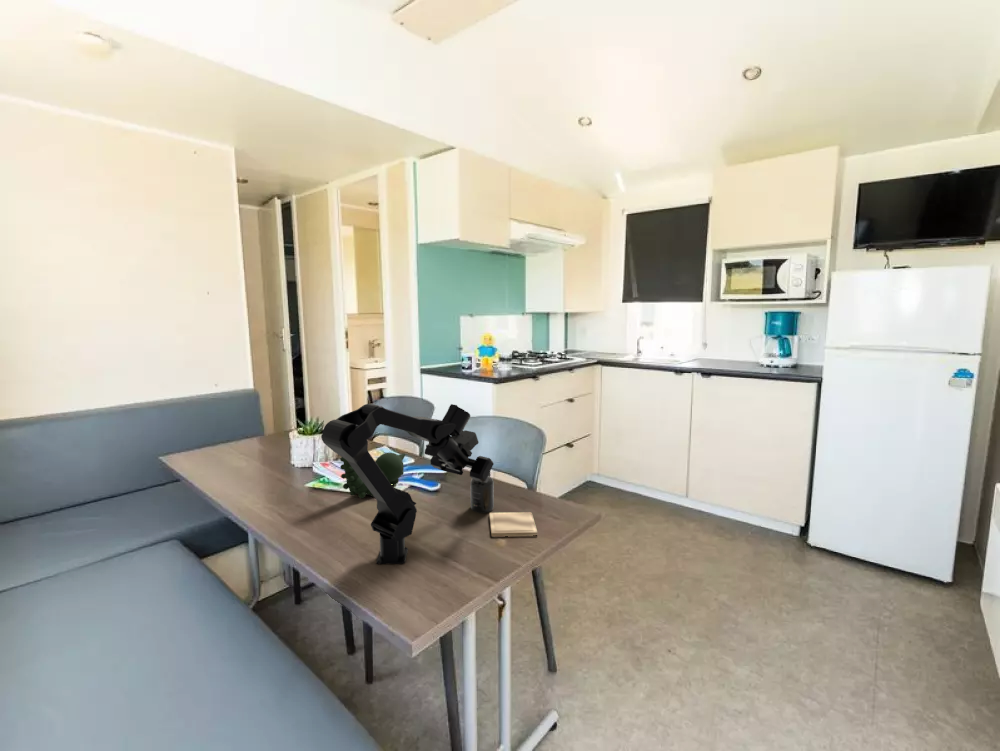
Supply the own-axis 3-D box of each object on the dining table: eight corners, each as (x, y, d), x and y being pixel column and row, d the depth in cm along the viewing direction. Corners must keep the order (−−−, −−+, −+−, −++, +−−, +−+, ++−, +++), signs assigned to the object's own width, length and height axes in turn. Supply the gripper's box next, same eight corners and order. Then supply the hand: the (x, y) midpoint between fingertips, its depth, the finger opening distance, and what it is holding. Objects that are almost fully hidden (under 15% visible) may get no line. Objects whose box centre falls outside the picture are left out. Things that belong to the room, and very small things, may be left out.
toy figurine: (359, 512, 139) (417, 479, 159) (353, 452, 135) (413, 426, 155) (338, 504, 144) (397, 473, 164) (331, 446, 140) (392, 422, 160)
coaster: (537, 536, 123) (537, 532, 123) (491, 536, 123) (491, 532, 122) (531, 515, 135) (531, 511, 135) (489, 516, 134) (489, 512, 134)
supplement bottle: (481, 501, 144) (481, 464, 142) (498, 508, 140) (499, 469, 138) (465, 509, 139) (465, 470, 137) (482, 516, 134) (483, 475, 133)
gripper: (489, 430, 122) (513, 459, 133) (437, 418, 133) (462, 446, 144) (470, 467, 117) (496, 495, 128) (417, 452, 128) (445, 479, 139)
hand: (474, 477), depth 135 cm, fingers open, 9 cm apart
